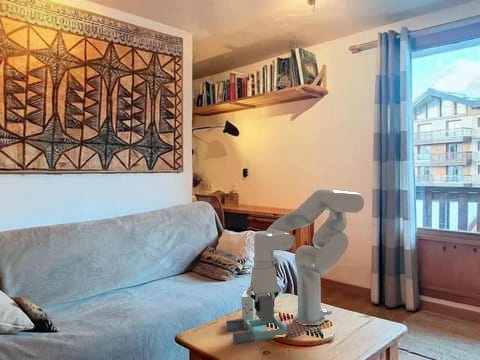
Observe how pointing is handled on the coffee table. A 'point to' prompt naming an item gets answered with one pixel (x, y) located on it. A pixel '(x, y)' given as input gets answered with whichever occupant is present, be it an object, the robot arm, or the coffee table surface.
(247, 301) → the ink cartridge box
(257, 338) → the tray
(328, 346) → the coffee table surface
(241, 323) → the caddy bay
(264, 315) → the grey upright block
